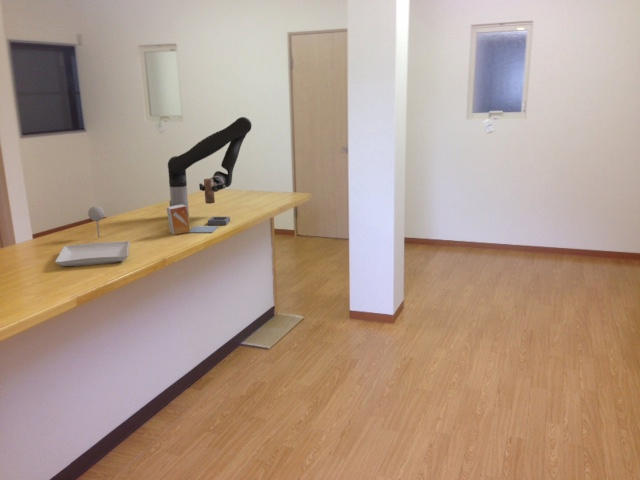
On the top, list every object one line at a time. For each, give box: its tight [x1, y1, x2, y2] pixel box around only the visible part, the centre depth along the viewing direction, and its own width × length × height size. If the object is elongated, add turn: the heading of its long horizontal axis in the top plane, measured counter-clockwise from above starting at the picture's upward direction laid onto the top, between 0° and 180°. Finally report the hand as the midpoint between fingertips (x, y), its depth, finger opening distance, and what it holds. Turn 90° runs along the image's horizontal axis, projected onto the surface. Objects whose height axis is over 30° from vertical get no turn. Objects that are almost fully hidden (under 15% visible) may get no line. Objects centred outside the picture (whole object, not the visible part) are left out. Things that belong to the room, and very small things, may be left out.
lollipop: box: [87, 205, 105, 238], centre depth 267 cm, size 7×7×15 cm
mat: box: [187, 225, 219, 234], centre depth 280 cm, size 12×12×1 cm
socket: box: [207, 216, 231, 226], centre depth 295 cm, size 9×9×2 cm
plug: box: [203, 177, 215, 205], centre depth 282 cm, size 5×5×12 cm
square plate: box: [54, 240, 131, 267], centre depth 233 cm, size 27×27×4 cm
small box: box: [166, 204, 191, 236], centre depth 273 cm, size 8×6×13 cm
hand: (207, 188), depth 279 cm, fingers closed on plug, 4 cm apart
